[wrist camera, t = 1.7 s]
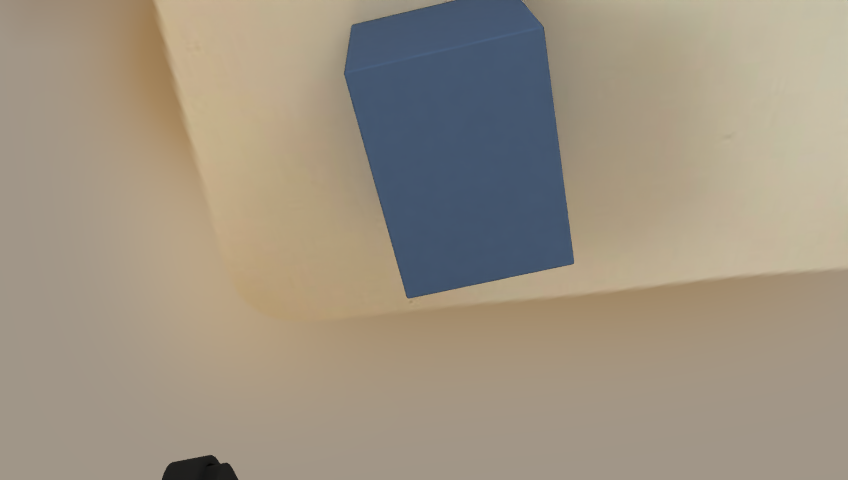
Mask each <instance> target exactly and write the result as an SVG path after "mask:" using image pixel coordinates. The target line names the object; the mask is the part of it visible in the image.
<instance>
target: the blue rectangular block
mask: <svg viewBox="0 0 848 480" xmlns="http://www.w3.org/2000/svg"><path fill="white" fill-rule="evenodd" d="M344 75H345V79H346V82H347V86H348V90H349V93H350V97H351V100H352V104H353V107H354V111H355V114H356V118H357V122H358V125H359V129H360V132H361V136H362V139H363V143H364V147H365V150H366V154H367V157H368V161H369V164H370V168H371V171H372V175H373V179H374V182H375V186H376V189H377V193H378V196H379V200H380V204H381V207H382V211H383V214H384V218H385V221H386V225H387V228H388V232H389V236H390V239H391V243H392V246H393V250H394V253H395V257H396V261H397V264H398V268H399V271H400V275H401V278H402V282H403V285H404V289H405V293H406V296H407V298H414V297H419V296H423V295H428V294H433V293H438V292H442V291H447V290H452V289H457V288H461V287H466V286H471V285H476V284H481V283H485V282H490V281H495V280H500V279H504V278H509V277H514V276H519V275H523V274H528V273H533V272H538V271H542V270H547V269H552V268H557V267H562V266H566V265H571V264H574V258H573V250H572V242H571V234H570V227H569V219H568V211H567V203H566V196H565V188H564V180H563V173H562V165H561V157H560V149H559V142H558V134H557V126H556V119H555V111H554V103H553V95H552V88H551V80H550V72H549V65H548V57H547V49H546V41H545V34H544V27H543V26H542V25H541V23H540V22H539V21H538V20H537V19H536V17H535V16H534V15H533V14H532V13H531V11H530V10H529V9H528V8H527V7H526V5H525V4H524V3H523V2H522V1H521V0H455V1H451V2H447V3H443V4H438V5H434V6H430V7H426V8H422V9H417V10H413V11H409V12H405V13H400V14H396V15H392V16H388V17H383V18H379V19H375V20H371V21H366V22H362V23H358V24H354V25H352V27H351V33H350V40H349V46H348V52H347V59H346V65H345V71H344Z"/></svg>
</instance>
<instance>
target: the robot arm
mask: <svg viewBox="0 0 848 480" xmlns="http://www.w3.org/2000/svg"><path fill="white" fill-rule="evenodd" d="M162 480H238V478H237V476H236V475H235V473H234V471H233V469H232V467H231V466H230V464H228V463H222V464H220V463H219V462H218V460H217V459H216V457H214V456H212V455H208V456H203V457H198V458H192V459H187V460H182V461H177V462H172V463H170V464H169V465H168V466H167V468H166V470H165V472H164V475H163V478H162Z"/></svg>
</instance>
